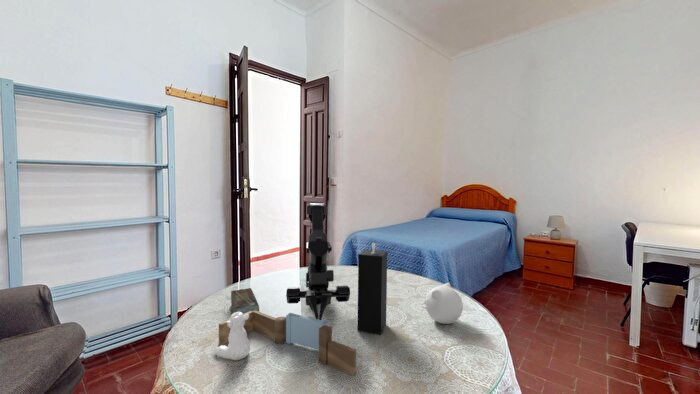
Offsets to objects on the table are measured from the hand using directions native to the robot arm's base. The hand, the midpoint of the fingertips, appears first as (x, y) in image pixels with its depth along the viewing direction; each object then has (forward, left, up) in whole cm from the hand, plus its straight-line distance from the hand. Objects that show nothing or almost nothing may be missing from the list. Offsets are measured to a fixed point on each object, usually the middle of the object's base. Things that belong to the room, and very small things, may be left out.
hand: (318, 323), depth 86 cm
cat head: (-38, +24, -7) cm, 45 cm away
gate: (+2, -3, -7) cm, 8 cm away
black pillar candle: (-20, +6, -7) cm, 22 cm away
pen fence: (+8, -5, -7) cm, 12 cm away
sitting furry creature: (+15, -16, -8) cm, 23 cm away
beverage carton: (-3, -37, -8) cm, 38 cm away
